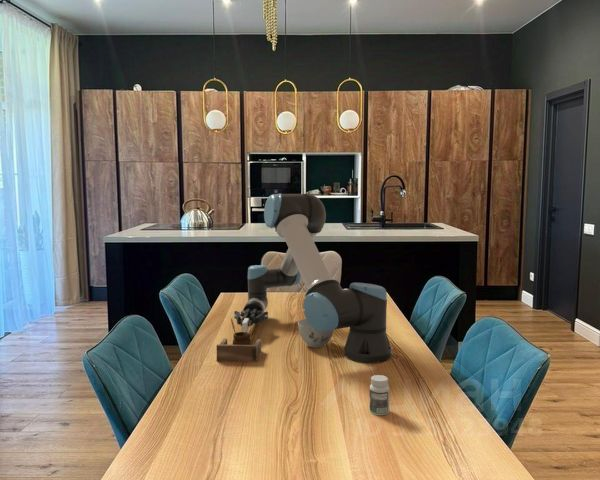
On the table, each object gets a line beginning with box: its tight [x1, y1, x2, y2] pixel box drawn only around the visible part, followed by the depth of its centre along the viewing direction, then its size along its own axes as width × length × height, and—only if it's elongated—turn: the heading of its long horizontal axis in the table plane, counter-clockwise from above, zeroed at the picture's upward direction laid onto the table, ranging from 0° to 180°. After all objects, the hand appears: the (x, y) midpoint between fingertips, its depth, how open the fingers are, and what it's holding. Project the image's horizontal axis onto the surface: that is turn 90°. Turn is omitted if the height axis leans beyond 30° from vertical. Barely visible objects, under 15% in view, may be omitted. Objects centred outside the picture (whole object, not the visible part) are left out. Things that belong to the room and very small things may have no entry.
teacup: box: [297, 318, 335, 349], centre depth 175 cm, size 15×12×8 cm
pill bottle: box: [369, 374, 390, 416], centre depth 123 cm, size 5×5×8 cm
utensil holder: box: [230, 317, 252, 345], centre depth 164 cm, size 6×6×12 cm
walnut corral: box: [216, 338, 262, 363], centre depth 163 cm, size 11×12×5 cm
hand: (244, 326), depth 174 cm, fingers closed
